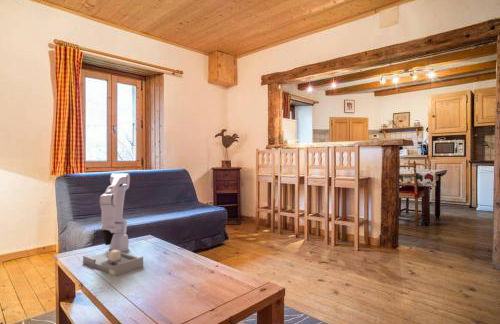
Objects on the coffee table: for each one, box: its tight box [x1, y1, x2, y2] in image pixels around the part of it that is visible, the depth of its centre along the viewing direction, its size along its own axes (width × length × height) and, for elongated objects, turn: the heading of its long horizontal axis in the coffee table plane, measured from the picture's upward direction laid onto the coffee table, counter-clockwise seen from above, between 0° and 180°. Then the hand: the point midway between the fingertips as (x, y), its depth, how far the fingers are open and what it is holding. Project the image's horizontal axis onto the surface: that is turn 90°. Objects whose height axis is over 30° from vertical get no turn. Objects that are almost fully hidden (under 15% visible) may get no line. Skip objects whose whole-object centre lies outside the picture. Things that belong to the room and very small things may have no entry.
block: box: [108, 250, 121, 261], centre depth 142 cm, size 4×4×4 cm
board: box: [82, 248, 144, 277], centre depth 140 cm, size 14×28×4 cm, turn 57°
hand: (107, 244), depth 145 cm, fingers closed
